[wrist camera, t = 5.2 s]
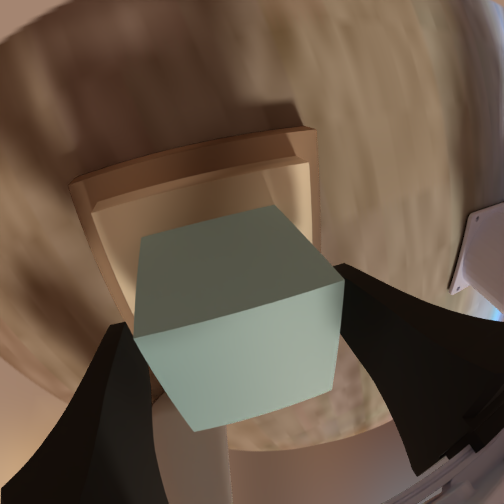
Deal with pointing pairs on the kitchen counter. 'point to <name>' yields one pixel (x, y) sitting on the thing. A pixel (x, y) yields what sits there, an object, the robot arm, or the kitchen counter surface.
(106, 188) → the wooden base
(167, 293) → the teal block
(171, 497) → the salt shaker
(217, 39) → the kitchen counter surface
